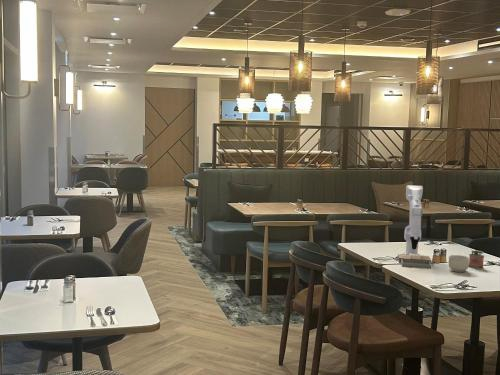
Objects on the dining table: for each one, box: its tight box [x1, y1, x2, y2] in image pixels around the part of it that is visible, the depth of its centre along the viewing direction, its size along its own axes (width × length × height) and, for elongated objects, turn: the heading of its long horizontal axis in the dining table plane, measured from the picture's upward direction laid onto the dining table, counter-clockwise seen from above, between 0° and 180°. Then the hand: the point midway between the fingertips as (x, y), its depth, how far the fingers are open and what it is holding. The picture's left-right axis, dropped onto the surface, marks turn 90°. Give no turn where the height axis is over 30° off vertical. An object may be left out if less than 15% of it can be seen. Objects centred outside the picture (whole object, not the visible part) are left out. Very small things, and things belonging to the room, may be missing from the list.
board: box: [397, 253, 432, 264], centre depth 356 cm, size 12×18×2 cm
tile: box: [409, 253, 422, 259], centre depth 353 cm, size 5×6×2 cm
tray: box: [400, 259, 432, 269], centre depth 345 cm, size 10×16×2 cm, turn 80°
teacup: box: [448, 254, 469, 273], centre depth 337 cm, size 14×11×8 cm
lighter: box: [468, 249, 485, 270], centre depth 345 cm, size 8×3×10 cm, turn 62°
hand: (414, 249), depth 360 cm, fingers closed
